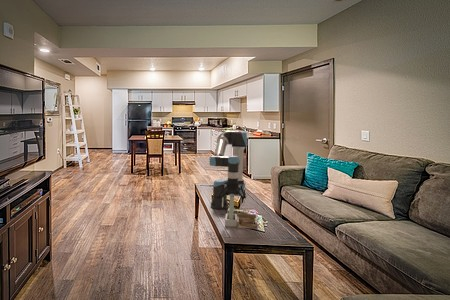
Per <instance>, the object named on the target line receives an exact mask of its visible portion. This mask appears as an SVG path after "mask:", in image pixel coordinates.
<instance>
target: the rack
mask: <svg viewBox="0 0 450 300" xmlns="http://www.w3.org/2000/svg"><path fill="white" fill-rule="evenodd" d="M236 214H237V227H236V228H237V229H252V228H257V229H258V220H257V219H258V218H257V214H255V213H241V212H239V213H236ZM243 218H250V219H251V220H253V221H254V223H255V224H254V225H240V224H239V221H240V220H241V219H243Z"/></svg>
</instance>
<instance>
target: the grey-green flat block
mask: <svg viewBox="0 0 450 300" xmlns="http://www.w3.org/2000/svg"><path fill="white" fill-rule="evenodd" d="M228 205H229V206H228V209H229V210H228V211H229V213H228V214H229V219H232V220H233V214H235V213H234V210H235V209H234V208H235V196H234V194H230V195H229V204H228Z"/></svg>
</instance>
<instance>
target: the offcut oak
mask: <svg viewBox="0 0 450 300" xmlns="http://www.w3.org/2000/svg"><path fill="white" fill-rule="evenodd" d="M241 221H242V222H249V221H251V219H250V218H243V219H241Z"/></svg>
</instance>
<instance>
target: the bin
mask: <svg viewBox="0 0 450 300" xmlns="http://www.w3.org/2000/svg"><path fill="white" fill-rule="evenodd" d="M224 227H225V228H227V227H229V228H237V213H233V220H232V219H229V213H225V218H224Z"/></svg>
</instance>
